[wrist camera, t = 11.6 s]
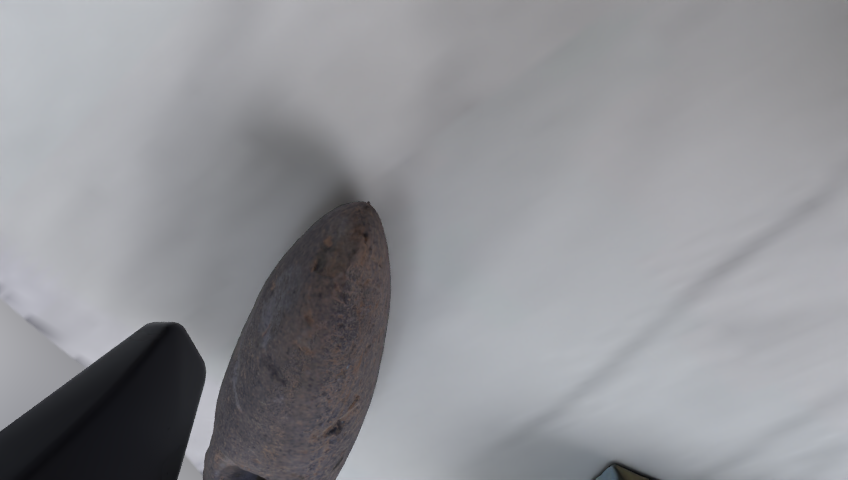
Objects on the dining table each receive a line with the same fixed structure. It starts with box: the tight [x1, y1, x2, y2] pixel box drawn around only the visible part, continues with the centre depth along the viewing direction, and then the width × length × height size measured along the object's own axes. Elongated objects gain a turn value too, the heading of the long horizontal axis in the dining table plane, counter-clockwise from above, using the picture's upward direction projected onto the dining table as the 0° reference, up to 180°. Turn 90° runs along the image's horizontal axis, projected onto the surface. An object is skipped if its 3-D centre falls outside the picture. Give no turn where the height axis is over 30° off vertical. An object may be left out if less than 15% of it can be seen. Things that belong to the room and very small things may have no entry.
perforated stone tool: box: [203, 201, 391, 480], centre depth 25 cm, size 15×5×7 cm, turn 159°
